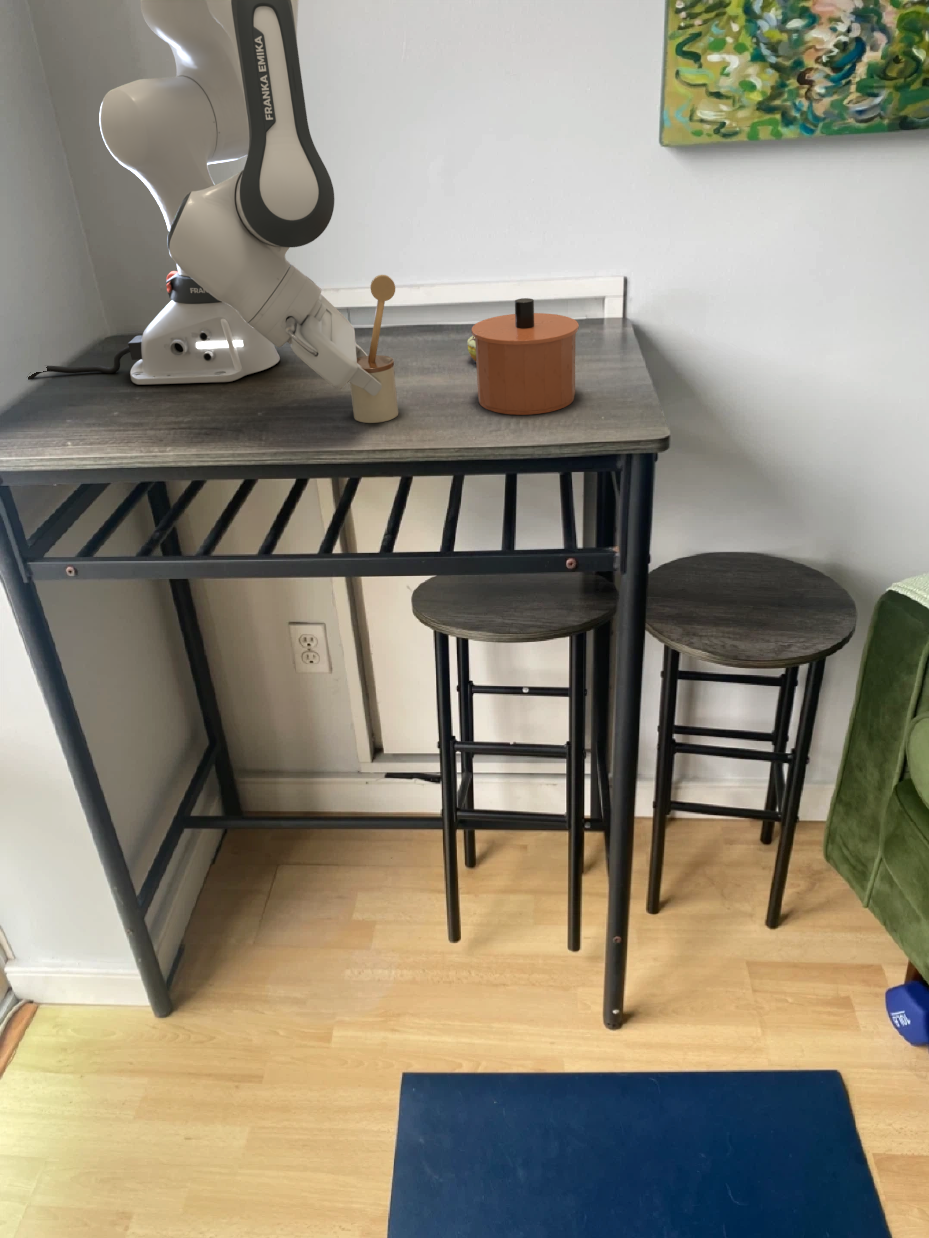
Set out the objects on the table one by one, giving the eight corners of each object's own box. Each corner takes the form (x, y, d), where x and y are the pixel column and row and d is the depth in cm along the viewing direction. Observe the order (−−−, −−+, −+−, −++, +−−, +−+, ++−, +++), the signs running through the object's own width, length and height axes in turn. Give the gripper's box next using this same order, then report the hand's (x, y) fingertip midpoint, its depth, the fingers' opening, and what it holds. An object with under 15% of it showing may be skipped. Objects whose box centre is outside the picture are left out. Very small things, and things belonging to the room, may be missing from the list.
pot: (486, 419, 119) (482, 347, 114) (473, 388, 130) (469, 322, 125) (583, 409, 120) (584, 338, 115) (563, 380, 131) (563, 314, 126)
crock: (353, 425, 120) (336, 284, 111) (353, 410, 125) (336, 274, 116) (408, 420, 120) (395, 279, 111) (404, 405, 125) (392, 269, 116)
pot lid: (479, 354, 114) (477, 317, 112) (465, 326, 126) (464, 293, 123) (589, 344, 115) (590, 308, 113) (566, 317, 127) (566, 284, 124)
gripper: (302, 309, 105) (397, 387, 110) (306, 272, 122) (389, 342, 128) (268, 352, 107) (364, 427, 112) (277, 311, 124) (359, 377, 130)
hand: (377, 381), depth 120 cm, fingers closed on crock, 6 cm apart
